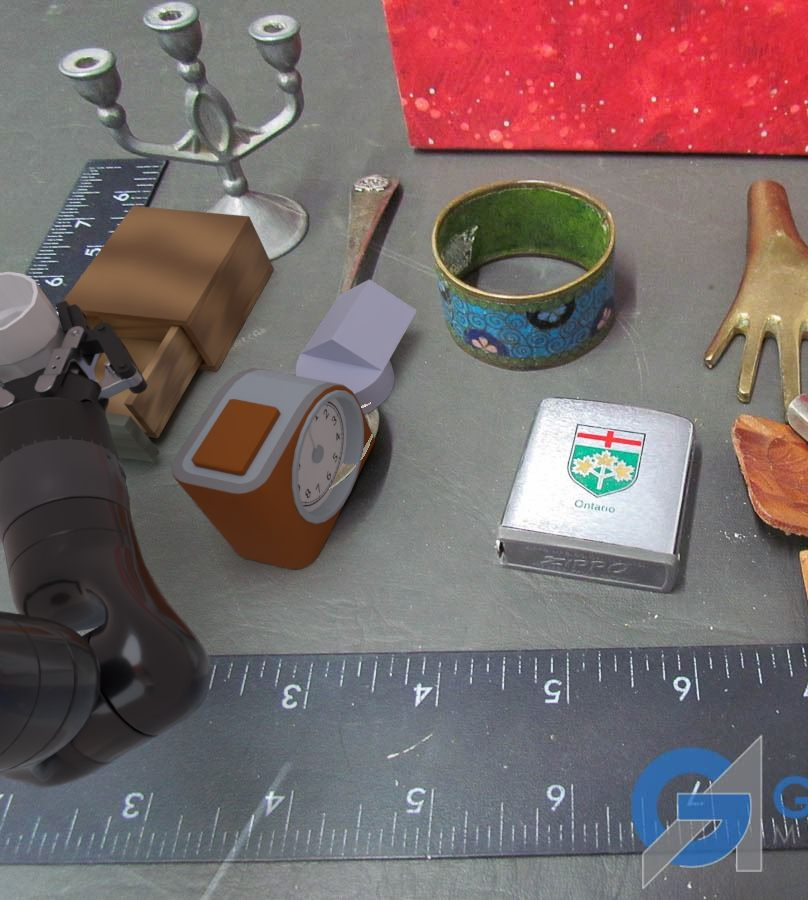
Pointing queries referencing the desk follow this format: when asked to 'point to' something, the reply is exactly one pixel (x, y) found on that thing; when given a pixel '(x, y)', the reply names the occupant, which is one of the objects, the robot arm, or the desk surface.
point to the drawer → (148, 382)
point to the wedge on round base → (358, 343)
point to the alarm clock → (274, 463)
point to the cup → (25, 327)
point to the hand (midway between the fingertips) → (21, 327)
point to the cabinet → (179, 275)
